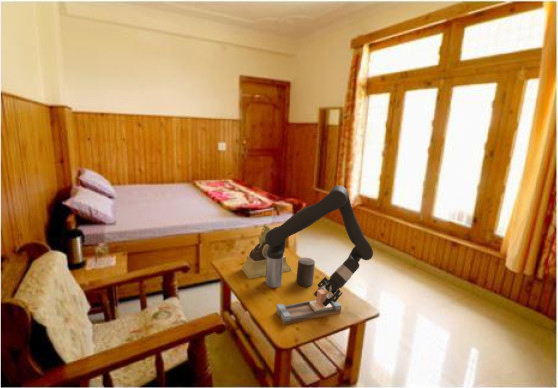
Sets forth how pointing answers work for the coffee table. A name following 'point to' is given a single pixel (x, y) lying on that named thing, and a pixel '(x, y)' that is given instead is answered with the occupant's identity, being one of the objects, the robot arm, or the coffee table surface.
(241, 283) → the coffee table surface
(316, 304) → the carriage
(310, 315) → the rail
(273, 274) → the robot arm
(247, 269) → the decorative clock
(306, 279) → the pillar candle
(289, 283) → the coffee table surface
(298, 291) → the coffee table surface
